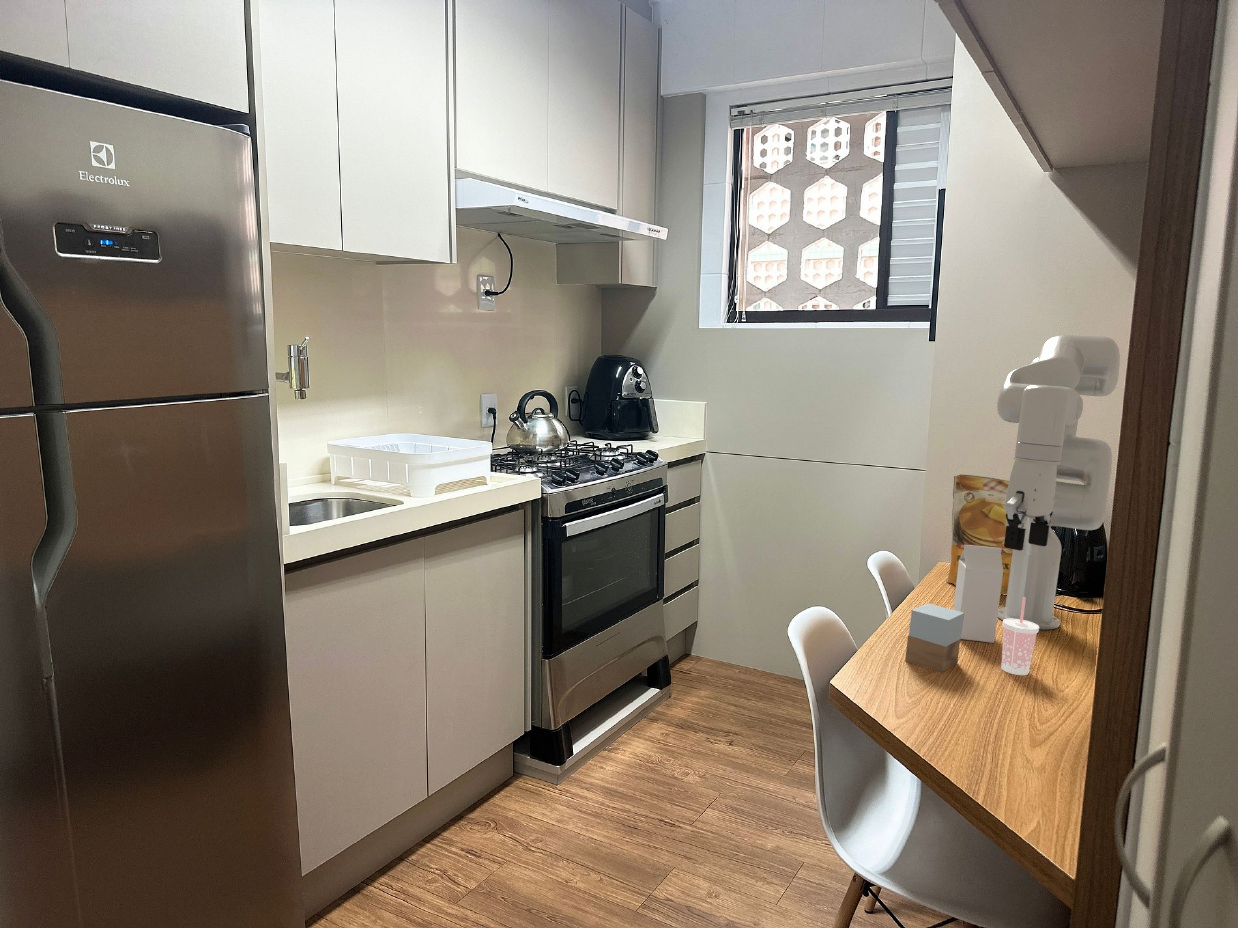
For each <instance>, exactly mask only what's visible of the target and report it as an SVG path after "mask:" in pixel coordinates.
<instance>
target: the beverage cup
mask: <svg viewBox="0 0 1238 928" xmlns="http://www.w3.org/2000/svg"><path fill="white" fill-rule="evenodd" d="M1025 600H1026V597H1023V601H1022V609H1021V616H1020V619H1013V618H1010V619H1004V620H1002V627H1003V632H1002V634H1003V635H1002V649H1001V650H1002V652H1001V666H1000V667H1001V670H1002V671H1004V672H1006V673H1008V674H1012V675H1018V676H1026V675H1029V672H1030V667H1031V663H1032V658H1033V652H1034V648H1035V643H1036V640H1037V639H1036V638H1037V633H1039V631H1040V629H1039V626H1038V625H1037V624H1035V623H1033V622H1030V621H1026V620H1023V615H1024V608H1025Z"/></svg>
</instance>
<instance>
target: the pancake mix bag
mask: <svg viewBox="0 0 1238 928" xmlns="http://www.w3.org/2000/svg"><path fill="white" fill-rule="evenodd" d="M1008 484H1009V480H1006V479H1000V478H995V477H988V476H980V475H972V474H957V475H955V476H953V489H952V490H953V491H952V499H953V501H952V512H951V513H952V514H951V516H952V517H951V533H952V536H951V537H952V538H951V549H950V555H951V556H950V558H951V559H950V566H949V571H948V576H947V578H946V581H945V582H946V583H948V582H949V583H948V584H951V583H952V585H953V584H954V585H953V586H955V587H956V582H957V573H958V565H959V559H960V557H961V555H962V553H963V551H964V545H973V546H983V547H994V548H1001V549H1002V550H1001V557H1002V565H1003V578H1002V585H1001V593H1000V594H1007V589H1008V581H1009V574H1010V566H1011V558H1012V550H1013V549H1009V548H1005V547H1004V541H1005V533H1006V520H1007V519H1006V514H1007V513H1006V512H1005V510H1004V507H1005V501H1006V495H1007V489H1008Z"/></svg>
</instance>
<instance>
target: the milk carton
mask: <svg viewBox="0 0 1238 928" xmlns="http://www.w3.org/2000/svg"><path fill="white" fill-rule="evenodd" d="M1001 550H1002V549H1001V548H994V547H983V546H973V545H964V551H963V553H962V555H961V557H960V559H959V565H958V573H957V582H956V586H955V592H954V597H953V607H952V610H955V611H959V612H963V613H964V620H963V628H962V636H961V639H960V640H967V641H976V642H984V643H991V644H992V643H993V644H994V643H995V639H996V630H997V624H998V623H997V622H998V618H999V617H998V609H999V608H1000V607H999V606H1000V600H1001V595H1000V593H1001V585H1002V578H1003V565H1002V557H1001Z"/></svg>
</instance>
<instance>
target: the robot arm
mask: <svg viewBox="0 0 1238 928" xmlns="http://www.w3.org/2000/svg"><path fill="white" fill-rule="evenodd" d="M1120 365H1121V353H1120V349H1119V346H1118V343H1116V341H1115V340H1114V339H1112V338H1111V337H1107V336H1098V335H1097V336H1096V335H1093V336H1091V335H1074V334H1072V335H1071V334H1067V335H1066V334H1064V335H1063V334H1062V335H1057V336H1054V337H1051V338H1049V339H1047V340H1046V342H1044V344H1043V345H1042V347H1041V348H1040V352H1039V354H1038V357H1036V358H1035V359H1033V360H1032V361H1031V363H1030V364H1026V365H1023V366H1020V367H1018V368H1016V369H1014V370H1012V371H1010V372H1009V373H1008V374H1007V376H1006V377H1005V379H1004V381H1003V384H1002V385H1001V388H1000V391H999V394H998V398H997V403H996V405H997V406H996V408H997V413H998V415H999V417H1000V418H1001V420H1003V421H1005V422H1007V423H1013V424H1018V429H1017V434H1016V443H1015V450H1014V451H1015V452H1014V458H1013V459H1014V462H1013V465H1012V469H1011V471H1010V475H1009V476H1010V477H1009V480H1008V481H1009V484H1008V489H1007V495H1006V501H1005V507H1004V510H1005V512H1006V513H1007V514H1006V519H1007V520H1006V533H1005V541H1004V547H1005V548H1009V549H1013V550H1012V558H1011V566H1010V574H1009V581H1008V589H1007V596H1006V597H1005V599H1006V600H1005V605H1004V606H1003V607H999V609H998V617H997V618H998V619H1000V620H1002V621H1003V620H1004V619H1010V618H1013V619H1020V616H1021V609H1022V601H1023V597H1026V600H1025V608H1024V615H1023V620H1026V621H1030V622H1033V623H1035V624H1037V625H1038V626H1039V630H1054V629H1055V630H1056V629H1057V628H1059V627H1060V619H1059V618H1057V617H1056V616H1054V615H1053V614H1054V607H1055V600H1056V593H1057V586H1058V580H1059V579H1058V578H1059V571H1060V563H1061V556H1062V544H1061V541H1060V539H1059V537H1058V536H1057V534H1056V533H1055V531H1054V530H1053V529H1052V528H1051V527H1062V528H1063V527H1064V528H1070V529H1077V530H1083V531H1093V530H1097V529H1100V527H1101V526H1102V525H1103V523H1104V519H1105V517H1106V512H1107V505H1108V499H1109V498H1108V497H1109V489H1110V488H1109V487H1110V482H1111V474H1112V464H1113V454H1112V449H1111V446H1110V445H1109V443H1107V442H1106V441H1105V440H1102V439H1098V438H1090V437H1080V436H1079V437H1078V436H1077V430H1078V426H1079V425H1078V424H1079V420H1080V418H1081V416H1082V413H1083V410H1084V409H1083V408H1084V401H1083V398H1082V396H1085V397H1086V396H1087V397H1107V396H1109V395H1111V394H1112V393H1113V392H1114V391H1115V389H1116V388H1117V385H1118V382H1119V381H1118V380H1119V374H1120ZM1058 480H1066V481H1074V482H1080V483H1071V482H1066V481H1065V482H1064V481H1058ZM1081 483H1082V484H1081Z"/></svg>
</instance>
